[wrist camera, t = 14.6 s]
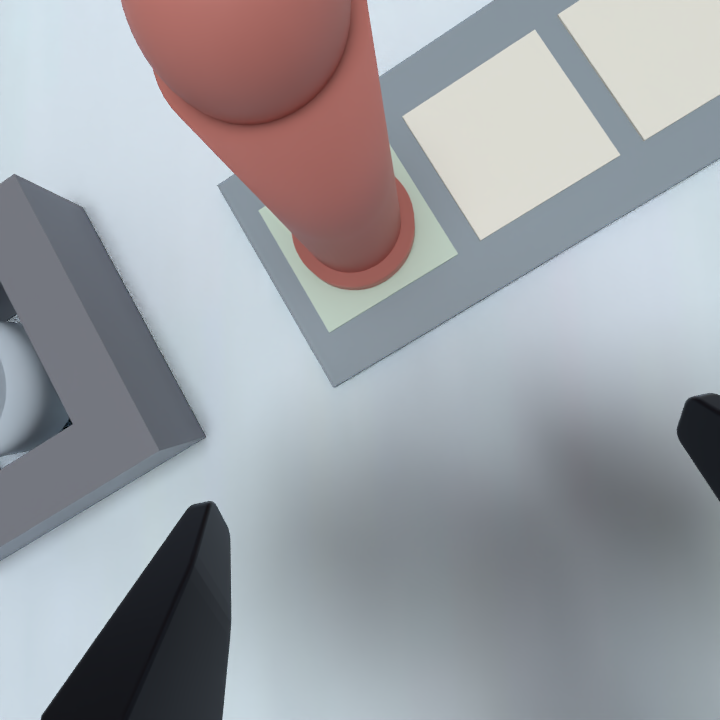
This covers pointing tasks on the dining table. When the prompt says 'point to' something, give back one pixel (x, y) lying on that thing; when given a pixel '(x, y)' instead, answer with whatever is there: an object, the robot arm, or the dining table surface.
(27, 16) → the dining table surface
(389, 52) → the dining table surface
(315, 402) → the dining table surface
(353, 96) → the pawn
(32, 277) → the button box
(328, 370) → the track board
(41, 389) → the dome
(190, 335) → the dining table surface
